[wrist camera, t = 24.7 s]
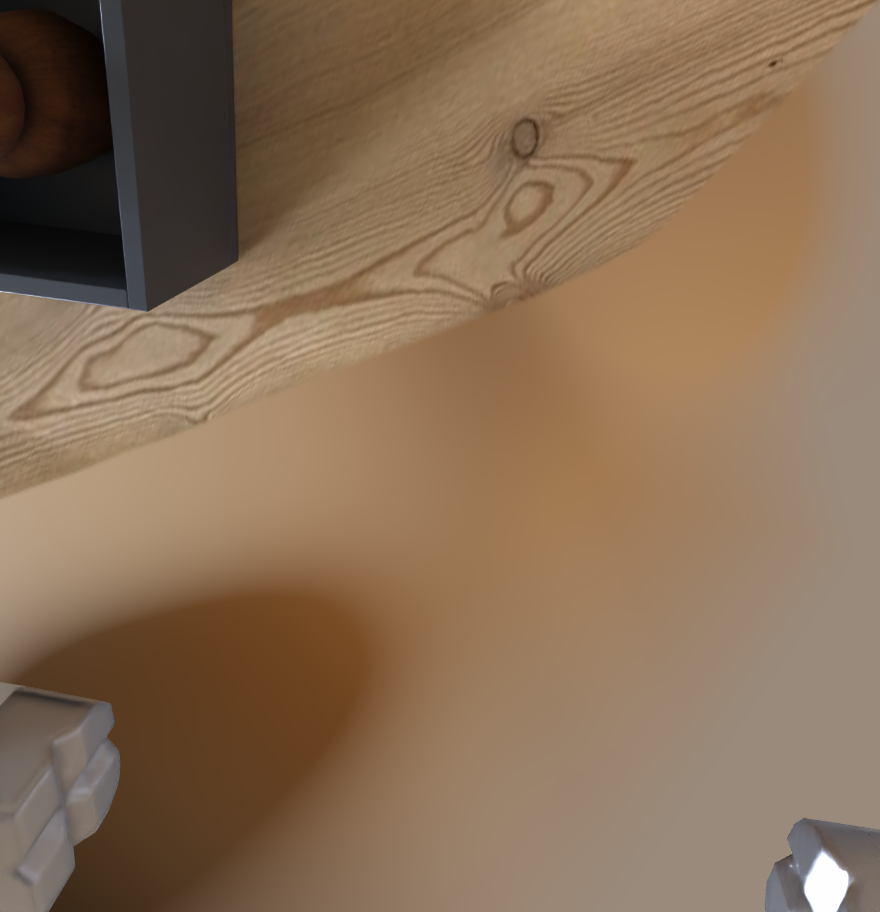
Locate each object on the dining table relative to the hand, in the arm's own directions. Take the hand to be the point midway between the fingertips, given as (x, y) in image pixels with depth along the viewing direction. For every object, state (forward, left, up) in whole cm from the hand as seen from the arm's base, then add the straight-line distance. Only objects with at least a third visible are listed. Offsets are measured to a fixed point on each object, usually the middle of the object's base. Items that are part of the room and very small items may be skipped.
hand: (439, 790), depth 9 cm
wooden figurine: (+21, -5, -30) cm, 37 cm away
